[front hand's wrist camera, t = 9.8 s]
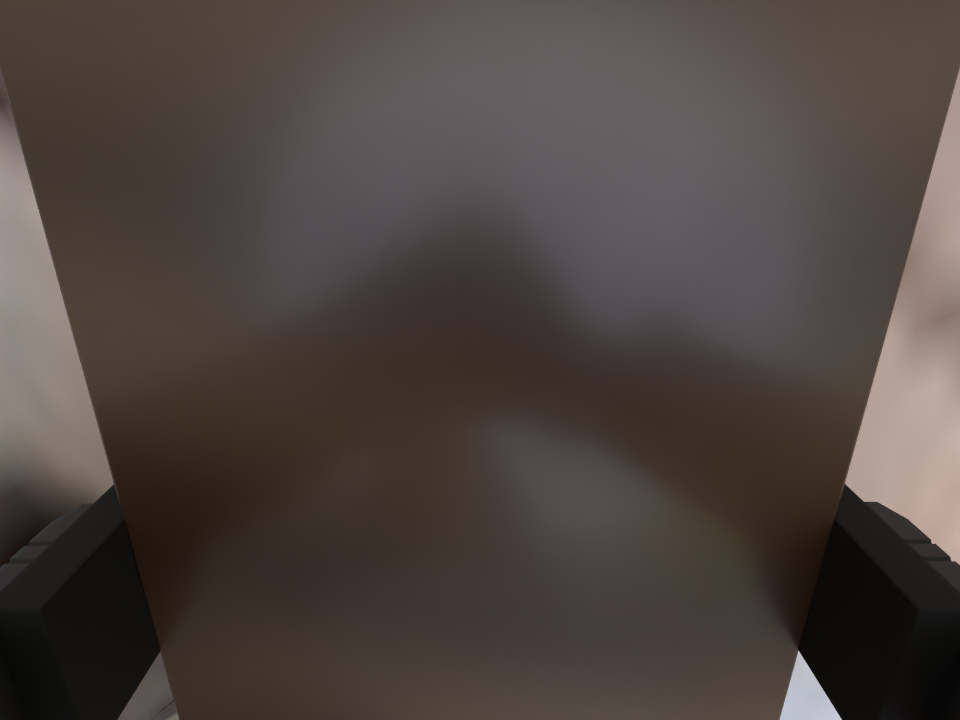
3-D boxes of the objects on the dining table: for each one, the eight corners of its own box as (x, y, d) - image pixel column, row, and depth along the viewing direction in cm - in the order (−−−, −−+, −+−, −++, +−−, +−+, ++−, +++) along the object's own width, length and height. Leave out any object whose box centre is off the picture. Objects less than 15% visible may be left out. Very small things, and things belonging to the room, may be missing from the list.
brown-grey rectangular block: (251, -241, 14) (-395, -1339, 4) (706, -240, 14) (1350, -1325, 4) (329, 457, 20) (186, 755, 10) (629, 457, 21) (771, 753, 11)
